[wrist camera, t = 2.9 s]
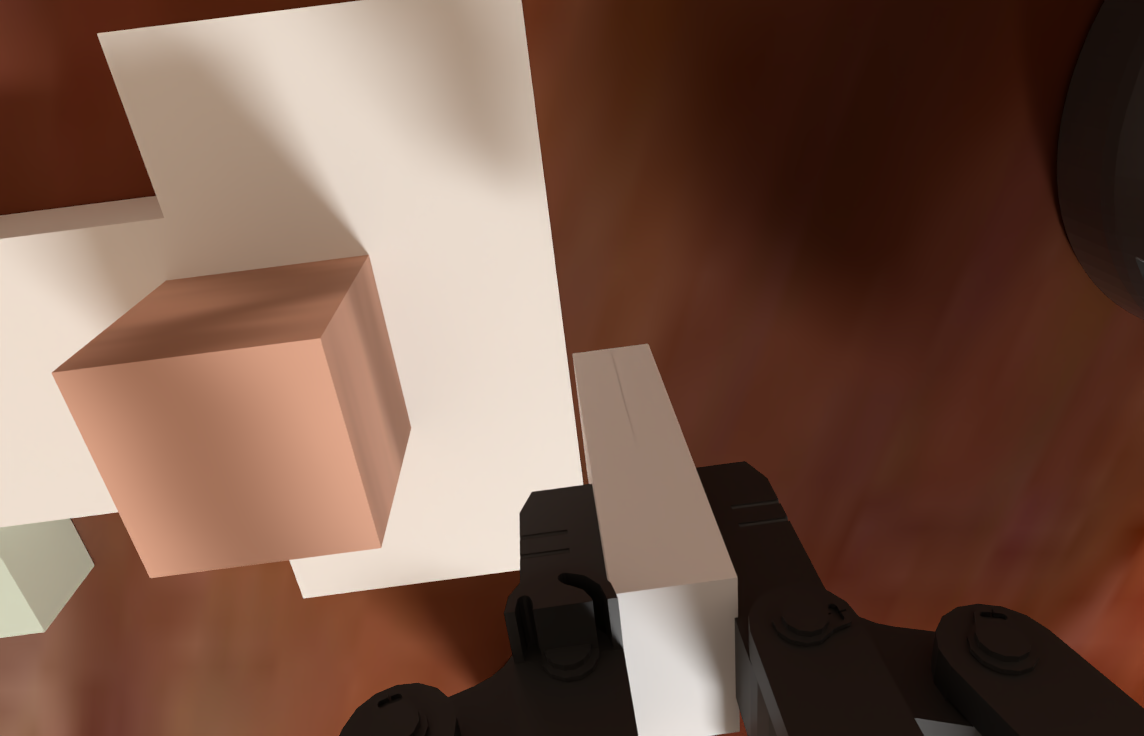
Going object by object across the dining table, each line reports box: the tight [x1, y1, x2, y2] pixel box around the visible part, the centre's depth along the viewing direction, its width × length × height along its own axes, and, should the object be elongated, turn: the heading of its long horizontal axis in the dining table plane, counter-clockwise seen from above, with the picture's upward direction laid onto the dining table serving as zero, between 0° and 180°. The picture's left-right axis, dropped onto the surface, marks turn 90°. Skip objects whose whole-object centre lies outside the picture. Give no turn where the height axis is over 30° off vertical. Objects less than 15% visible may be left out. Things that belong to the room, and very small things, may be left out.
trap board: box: [0, 0, 583, 638], centre depth 20 cm, size 24×16×6 cm, turn 96°
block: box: [52, 255, 411, 578], centre depth 17 cm, size 5×5×5 cm
